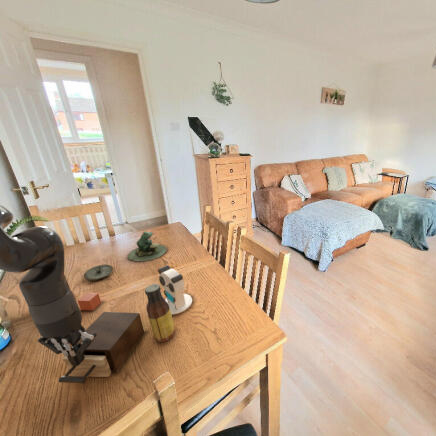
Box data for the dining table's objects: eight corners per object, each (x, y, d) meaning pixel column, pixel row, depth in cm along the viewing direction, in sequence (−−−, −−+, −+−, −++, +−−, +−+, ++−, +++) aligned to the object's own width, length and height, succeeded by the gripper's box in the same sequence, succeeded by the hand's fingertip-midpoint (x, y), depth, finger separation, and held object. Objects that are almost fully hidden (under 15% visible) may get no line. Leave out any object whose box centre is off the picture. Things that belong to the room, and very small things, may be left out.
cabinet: (117, 371, 68) (109, 350, 65) (76, 370, 68) (66, 348, 65) (144, 332, 81) (139, 312, 77) (110, 331, 80) (103, 311, 77)
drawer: (96, 394, 61) (88, 376, 59) (55, 393, 61) (46, 375, 59) (136, 338, 77) (131, 322, 75) (104, 337, 77) (98, 321, 74)
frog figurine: (172, 252, 129) (169, 233, 124) (135, 265, 116) (130, 244, 112) (158, 241, 139) (155, 223, 135) (123, 252, 127) (118, 233, 122)
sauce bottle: (177, 326, 83) (168, 280, 76) (172, 342, 78) (162, 293, 70) (157, 328, 82) (146, 281, 75) (150, 344, 76) (138, 294, 69)
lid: (107, 269, 115) (102, 260, 113) (118, 270, 110) (114, 261, 109) (82, 282, 106) (77, 272, 105) (93, 283, 102) (88, 273, 100)
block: (80, 310, 89) (77, 300, 87) (90, 301, 93) (86, 292, 91) (92, 310, 89) (89, 301, 87) (101, 302, 93) (98, 293, 91)
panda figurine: (154, 304, 93) (146, 272, 87) (181, 289, 101) (176, 259, 96) (169, 319, 86) (162, 285, 81) (197, 302, 95) (193, 270, 89)
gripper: (9, 322, 52) (38, 376, 58) (70, 324, 52) (92, 377, 58) (43, 298, 59) (65, 348, 65) (96, 300, 59) (114, 350, 65)
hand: (78, 362), depth 62 cm, fingers closed
